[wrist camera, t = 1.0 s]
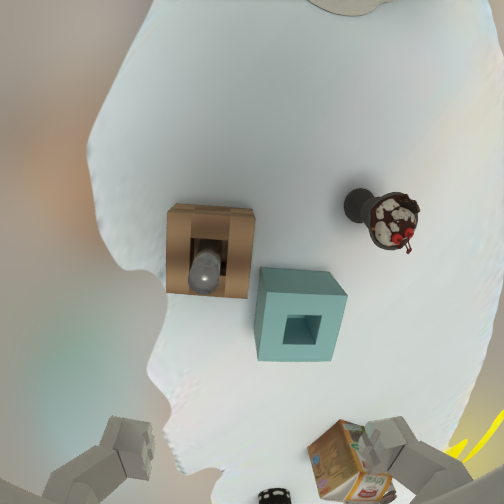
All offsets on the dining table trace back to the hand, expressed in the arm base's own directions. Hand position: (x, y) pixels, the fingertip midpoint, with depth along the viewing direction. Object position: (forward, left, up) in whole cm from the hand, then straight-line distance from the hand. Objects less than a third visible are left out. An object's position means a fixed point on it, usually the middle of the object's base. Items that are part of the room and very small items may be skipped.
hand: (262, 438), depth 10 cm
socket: (+3, -3, -33) cm, 34 cm away
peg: (+3, -3, -32) cm, 33 cm away
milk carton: (+45, +26, -34) cm, 61 cm away
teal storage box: (+11, +9, -33) cm, 36 cm away
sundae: (-4, +17, -34) cm, 38 cm away
